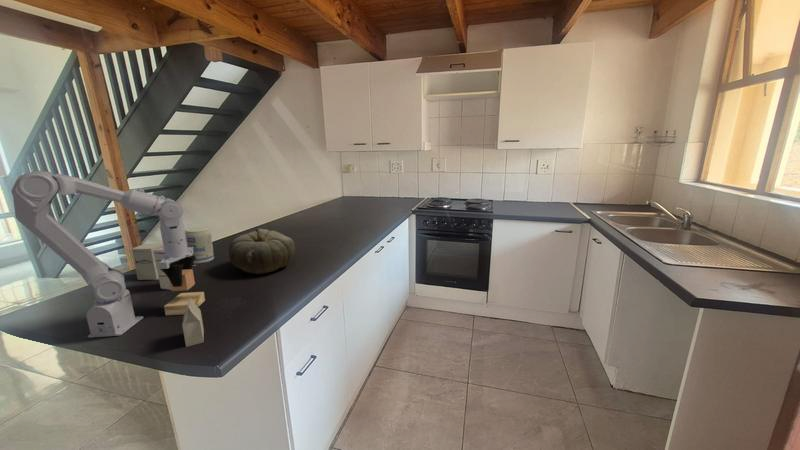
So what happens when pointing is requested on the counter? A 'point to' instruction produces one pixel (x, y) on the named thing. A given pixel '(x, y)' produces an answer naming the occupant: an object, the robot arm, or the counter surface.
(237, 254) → the gourd
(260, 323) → the counter surface
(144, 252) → the supplement box
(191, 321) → the tea bag
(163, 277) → the syrup box
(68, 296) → the counter surface
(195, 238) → the supplement tub
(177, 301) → the beech block
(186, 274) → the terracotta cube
